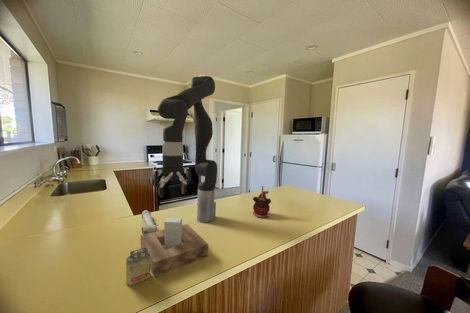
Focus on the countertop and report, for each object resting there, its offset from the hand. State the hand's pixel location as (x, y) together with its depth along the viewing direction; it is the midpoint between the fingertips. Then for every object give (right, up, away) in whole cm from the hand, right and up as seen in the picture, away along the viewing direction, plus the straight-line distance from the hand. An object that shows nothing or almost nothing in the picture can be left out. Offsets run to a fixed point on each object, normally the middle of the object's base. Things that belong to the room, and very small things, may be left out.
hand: (172, 195), depth 76 cm
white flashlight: (-22, -17, +19) cm, 34 cm away
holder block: (0, -23, +2) cm, 23 cm away
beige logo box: (-7, -24, -13) cm, 29 cm away
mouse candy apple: (+40, -21, +41) cm, 61 cm away
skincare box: (0, -22, +1) cm, 22 cm away
